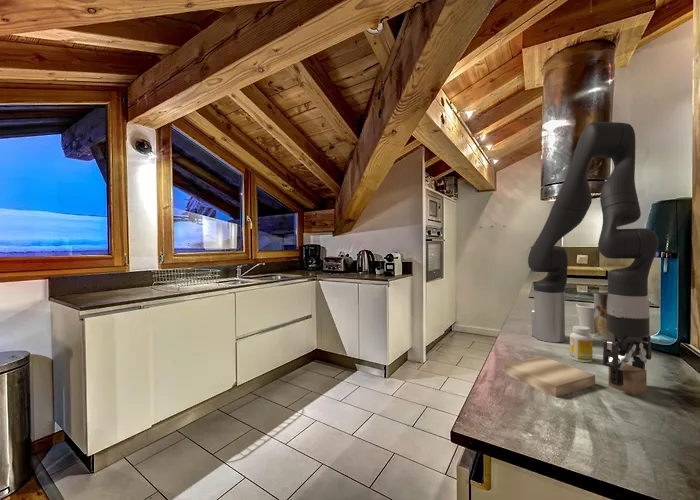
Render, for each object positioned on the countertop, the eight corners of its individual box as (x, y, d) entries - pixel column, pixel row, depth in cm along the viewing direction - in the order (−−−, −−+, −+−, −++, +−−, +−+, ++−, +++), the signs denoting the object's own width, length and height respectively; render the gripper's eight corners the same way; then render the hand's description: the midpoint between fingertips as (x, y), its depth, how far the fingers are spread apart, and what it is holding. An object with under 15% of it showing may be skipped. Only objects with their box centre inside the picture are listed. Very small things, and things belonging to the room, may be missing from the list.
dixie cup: (609, 334, 115) (609, 307, 115) (586, 334, 115) (586, 307, 115) (592, 327, 123) (591, 302, 123) (570, 328, 124) (570, 303, 123)
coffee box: (634, 343, 104) (634, 296, 104) (616, 344, 104) (616, 296, 103) (609, 335, 113) (609, 291, 113) (593, 336, 113) (592, 292, 112)
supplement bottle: (566, 358, 93) (565, 326, 93) (576, 354, 95) (576, 323, 95) (586, 364, 88) (585, 330, 88) (596, 360, 91) (596, 328, 90)
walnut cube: (608, 386, 75) (608, 365, 75) (621, 382, 77) (621, 362, 77) (633, 395, 70) (633, 373, 70) (646, 391, 72) (646, 370, 72)
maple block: (504, 375, 84) (504, 364, 84) (541, 366, 89) (541, 356, 89) (555, 399, 71) (555, 386, 70) (595, 387, 76) (595, 375, 76)
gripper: (626, 307, 79) (627, 370, 80) (590, 313, 74) (591, 380, 74) (665, 313, 72) (665, 382, 73) (628, 320, 67) (628, 394, 67)
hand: (627, 381), depth 74 cm, fingers open, 8 cm apart
